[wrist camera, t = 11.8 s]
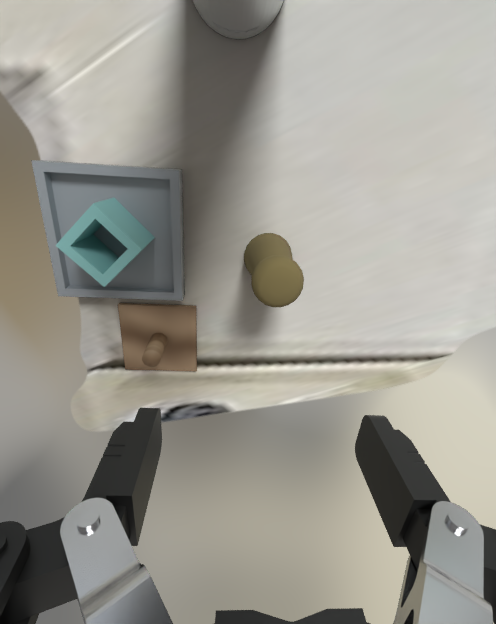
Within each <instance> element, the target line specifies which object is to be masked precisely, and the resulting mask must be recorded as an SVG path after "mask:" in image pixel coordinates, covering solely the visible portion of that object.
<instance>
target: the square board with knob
mask: <svg viewBox="0 0 496 624" xmlns="http://www.w3.org/2000/svg"><path fill="white" fill-rule="evenodd" d="M118 310H119V319H120V327H121V336H122V345H123V353H124V362H125V369H130V370H173V371H196V370H197V333H196V306H190V305H162V304H134V303H119V304H118Z"/></svg>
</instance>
